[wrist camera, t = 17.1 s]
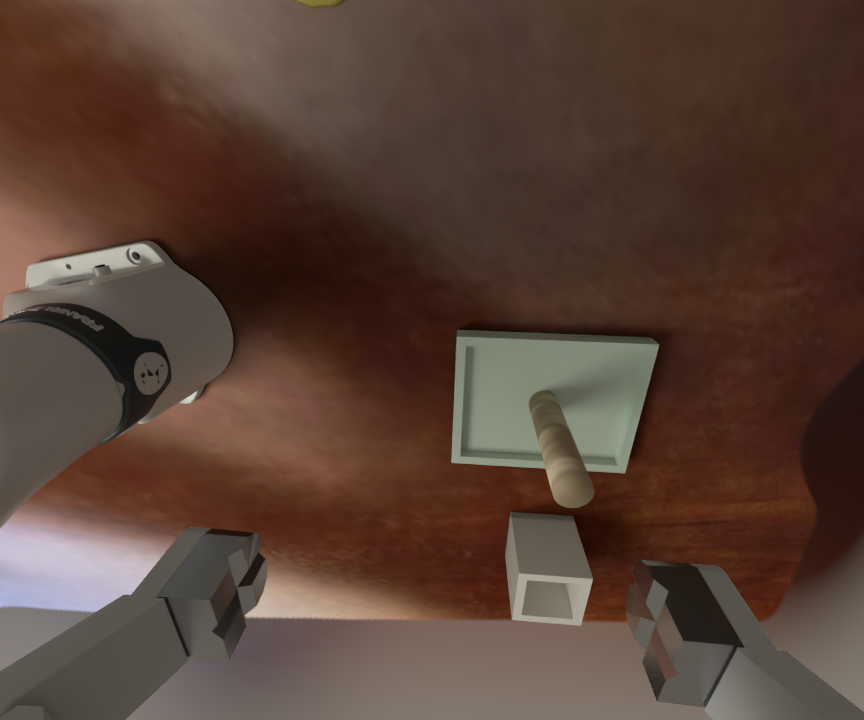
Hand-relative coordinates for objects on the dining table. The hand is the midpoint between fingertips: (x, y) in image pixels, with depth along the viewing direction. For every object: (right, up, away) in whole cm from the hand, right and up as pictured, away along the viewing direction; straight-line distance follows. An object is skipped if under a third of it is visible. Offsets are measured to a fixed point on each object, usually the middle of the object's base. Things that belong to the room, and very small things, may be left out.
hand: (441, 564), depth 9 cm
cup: (+14, -19, +45) cm, 51 cm away
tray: (+12, 0, +37) cm, 39 cm away
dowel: (+12, 0, +36) cm, 38 cm away
